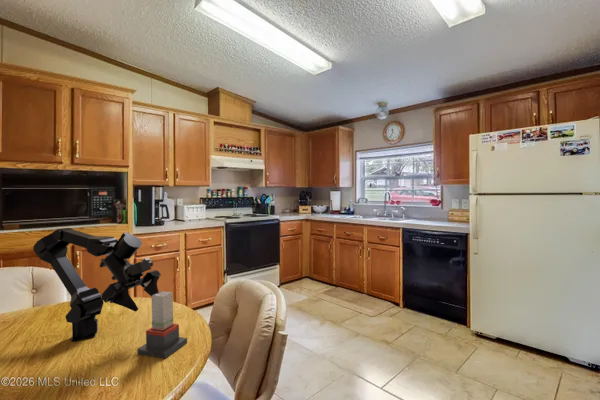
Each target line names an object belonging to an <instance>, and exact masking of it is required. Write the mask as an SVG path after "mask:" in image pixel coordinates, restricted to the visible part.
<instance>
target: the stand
mask: <svg viewBox="0 0 600 400" xmlns="http://www.w3.org/2000/svg"><path fill="white" fill-rule="evenodd" d="M187 343H188V338H187V337H182V336H180V324H179V323H173V327H171V328H169V329H168V330H166V331H164V332H161V331H154V330H152V327H150V328H148V329H147V330H145V344H143V345H141V346H140V347H139V348H137V350H136V351H137V352H136V353H137V355H141V356H147V357H153V358H159V359H167V358H168V357H170V356H171V355H172V354H174V353H175V352H176V351H178V350H179V349H180V348H182V347H183V346H184V345H186V344H187Z"/></svg>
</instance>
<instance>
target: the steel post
mask: <svg viewBox="0 0 600 400" xmlns="http://www.w3.org/2000/svg"><path fill="white" fill-rule="evenodd" d="M158 292H159V291H158ZM173 293H174V292H172V291H164V290H163V291H160V292H159V293H157V294H154V295H152V297H151V320H152V321H151V328H152V330H154V331H161V332H164V331H166V330H168V329H169V328H171V327H173V324H174V304H173V303H174V300H173V298H174V294H173Z"/></svg>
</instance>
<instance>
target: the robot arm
mask: <svg viewBox="0 0 600 400" xmlns="http://www.w3.org/2000/svg"><path fill="white" fill-rule="evenodd" d="M69 245H74V246H78V247H82V248H84V249H85V250H86V252H87V253H89V254H90V255H92V256H94V257H102V256H105V257H104V258H101V259H100V260H101V261H100V263H99V267H100V268H101V269H102V268H104V267H106V268H107V269H108V271H109V272H110V273H111V275H112V276H111V280H112V281H115V280H116V282H113V283H110V284H109V285H108V286H107V287H106V288H105V290H104V291H103V292H102V293H100V292H99V289H98V288H97V287H92V288H89V287H88V286H87V284H85V282H84V281H83V279H82V278H81V276H80V274H79V273H78V271H77V270H76V269H75V267H74V265H73V263H72V262H71V261H70V259H69V257H68V256H67V254H68V246H69ZM142 245H143V242H142V240H141V239H140V238H139V237H137V236H136V235H134V234H131V233H130V232H129V231H128V232H123V233H122V234H121V235H120V237H119V238H118V239H117V238H116V237H114V236H104V235H101V236H100V235H99V236H95V235H93V234H90V233H87V232H82V231H80V230H77V229H74V228H71V227H65V228H63V227H62V228H57V229H55V230H53V232H51V233H49V234H48V235H45V236H42V237H41V238H40V239H39V240H38V239H37V241H36V243H35V244H34V245H33V248H32V249H33V252H34V254H35V255H36V256H37V258H39V259H40V260H41V261H43V262H46V263H47V264H50V266H51V268H52V269H53V270H54V272H55V274H56V275H57V276H58V278H59V280H60V281H61V283H62V285H63V286H64V287H65V289H66V291H67V292H68V295H70V303H69V307H70V310H69V311H68V312H67V313H66V314H65V319H66V323H71V328H72V329H71V332H72V337H71V339H70V341H71V342H76V341H82V340H87V339H91V338H95V337H96V335H97V334H98V330H99V323H98V322H99V319H98V318H97V316H98V315H101V314H102V309H103V307H104V303H105V304H107V303H109V304H114V305H118V306H120V307H124V308H126V309H129V310H131V311H133V312H137V311H139V307H138V305H137V304H136V303H135V301H134V300H133V298H132V296H131V295H130V294H129V293H130V292H129V289H134V288H135V287H138V286H140V287H142V288H143V291H144V292H146V293H147V294H148V295H149V296H150V297H151V298H152V295H154V294H157V293H159V289H158V281H159V280H160V278H161V272H160V271H159V270H157V269H155V270H154V269H153V270H152V267H153V266H154V263H153V261H152V260H151V258H150V257H145V258H144V259H141V261H139V262H136V263H134V262H132V263H131V262H130V261H129V259H131V258H132V257H133V256H134V255H135V254H136V252H137V251H138V250H139V249H141V248H140V247H142ZM150 270H151V271H150ZM147 271H148V272H147ZM145 272H146V274H145Z"/></svg>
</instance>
